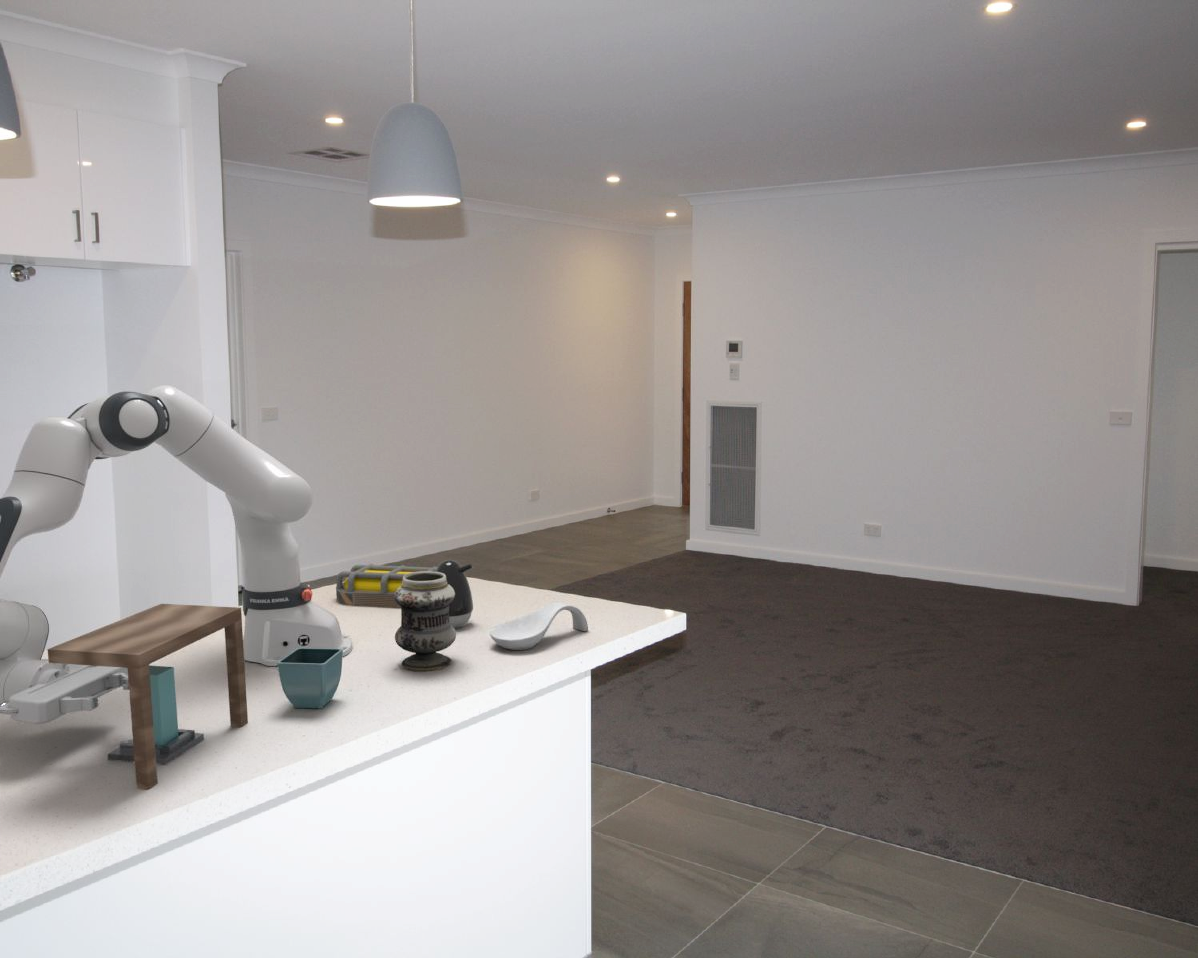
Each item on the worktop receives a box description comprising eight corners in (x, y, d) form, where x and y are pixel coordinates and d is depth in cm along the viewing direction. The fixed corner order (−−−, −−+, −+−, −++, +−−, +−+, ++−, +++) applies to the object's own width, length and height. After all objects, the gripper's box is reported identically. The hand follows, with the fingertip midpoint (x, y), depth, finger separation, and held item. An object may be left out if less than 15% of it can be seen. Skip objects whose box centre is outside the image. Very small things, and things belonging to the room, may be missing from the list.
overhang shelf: (58, 780, 148) (47, 649, 145) (169, 716, 173) (161, 603, 170) (148, 789, 144) (138, 654, 142) (247, 722, 170) (241, 607, 167)
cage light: (439, 578, 239) (324, 573, 246) (440, 611, 240) (325, 605, 247) (460, 565, 253) (351, 561, 260) (461, 596, 254) (353, 591, 261)
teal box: (134, 746, 157) (129, 673, 156) (151, 737, 161) (145, 665, 160) (163, 749, 156) (157, 675, 155) (178, 739, 160) (173, 666, 158)
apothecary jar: (437, 676, 192) (434, 584, 190) (383, 669, 197) (380, 579, 194) (467, 657, 204) (465, 571, 201) (416, 651, 208) (413, 566, 206)
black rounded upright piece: (467, 632, 221) (465, 565, 219) (422, 631, 223) (419, 564, 221) (479, 620, 231) (478, 555, 229) (436, 618, 233) (434, 554, 231)
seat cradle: (108, 759, 155) (107, 747, 155) (149, 734, 165) (148, 723, 164) (165, 764, 153) (164, 752, 153) (204, 739, 163) (203, 727, 162)
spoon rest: (513, 659, 203) (512, 624, 202) (479, 646, 212) (478, 613, 211) (599, 635, 219) (598, 603, 218) (563, 624, 228) (563, 594, 227)
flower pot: (278, 711, 175) (275, 662, 173) (300, 694, 183) (297, 646, 182) (326, 714, 173) (324, 663, 172) (346, 696, 182) (343, 648, 181)
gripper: (-13, 690, 151) (66, 696, 148) (83, 650, 171) (154, 655, 168) (-10, 730, 152) (70, 737, 149) (85, 686, 172) (157, 691, 169)
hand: (115, 693), depth 159 cm, fingers open, 8 cm apart
